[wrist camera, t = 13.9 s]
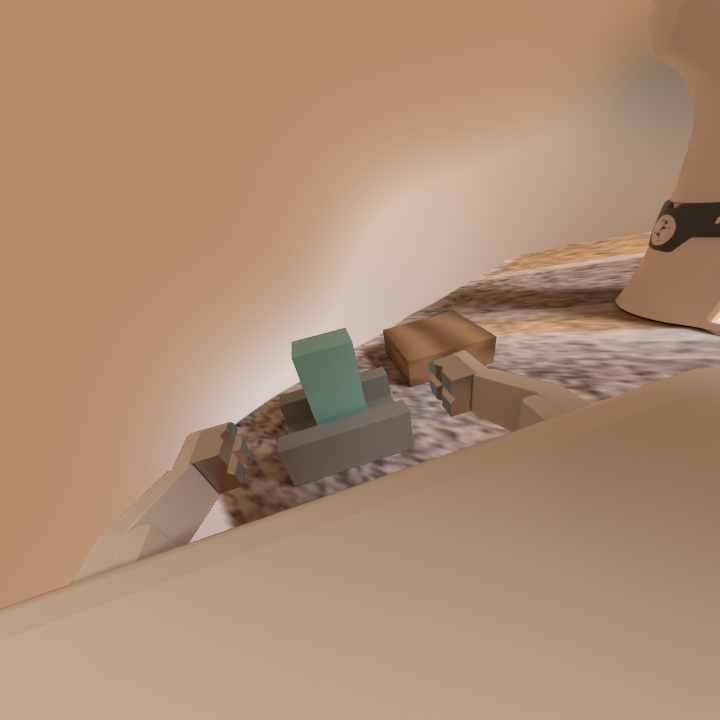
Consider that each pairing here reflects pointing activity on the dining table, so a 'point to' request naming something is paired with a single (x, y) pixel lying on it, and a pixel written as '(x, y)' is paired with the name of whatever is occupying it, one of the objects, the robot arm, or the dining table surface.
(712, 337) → the dining table surface
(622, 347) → the dining table surface
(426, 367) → the brown block
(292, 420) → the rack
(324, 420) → the sage green upright block
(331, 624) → the robot arm
